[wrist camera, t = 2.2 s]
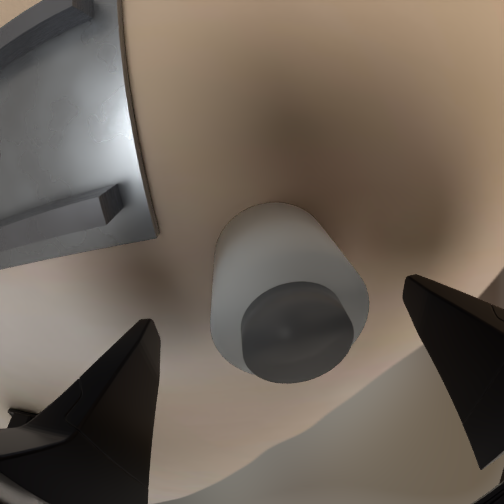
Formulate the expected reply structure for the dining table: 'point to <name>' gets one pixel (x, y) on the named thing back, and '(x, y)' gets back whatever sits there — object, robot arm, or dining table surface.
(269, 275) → the grey capped cylinder
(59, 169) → the cradle
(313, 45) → the dining table surface
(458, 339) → the robot arm
